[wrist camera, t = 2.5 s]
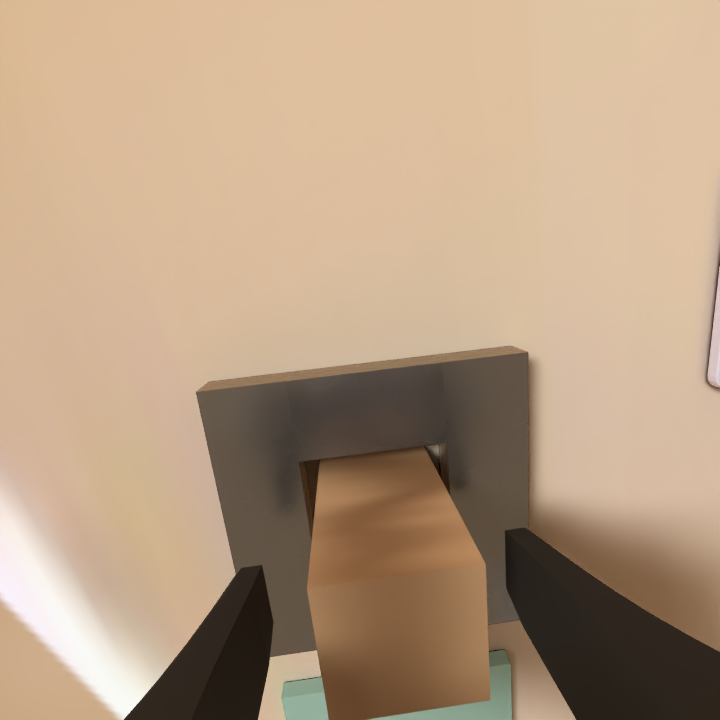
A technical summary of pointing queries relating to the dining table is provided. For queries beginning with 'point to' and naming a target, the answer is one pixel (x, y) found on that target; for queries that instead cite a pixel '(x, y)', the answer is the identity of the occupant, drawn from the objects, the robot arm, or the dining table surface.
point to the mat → (490, 716)
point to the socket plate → (358, 436)
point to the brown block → (395, 589)
